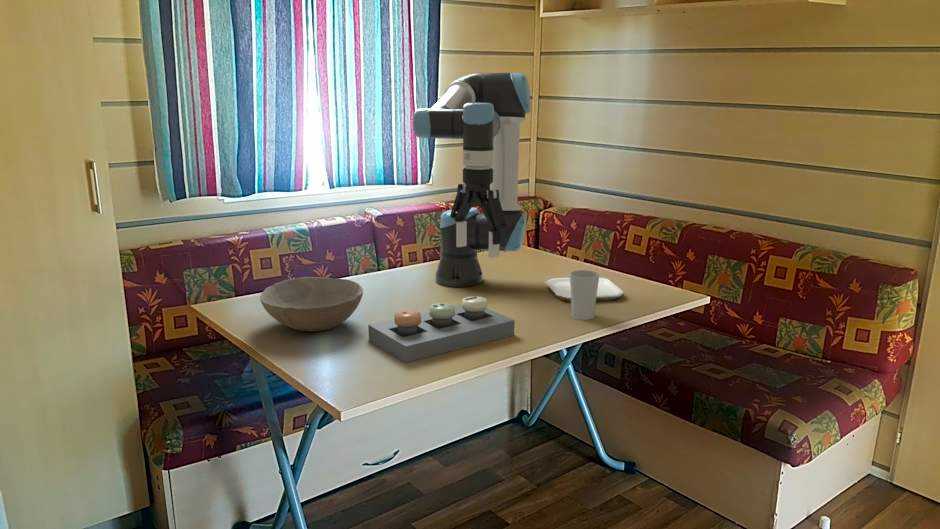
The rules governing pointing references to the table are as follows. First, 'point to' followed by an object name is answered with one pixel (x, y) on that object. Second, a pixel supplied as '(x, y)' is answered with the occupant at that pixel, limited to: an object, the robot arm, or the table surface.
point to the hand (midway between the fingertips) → (477, 251)
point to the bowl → (312, 302)
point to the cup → (583, 293)
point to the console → (440, 334)
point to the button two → (442, 314)
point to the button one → (407, 322)
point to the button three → (474, 307)
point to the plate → (604, 289)
